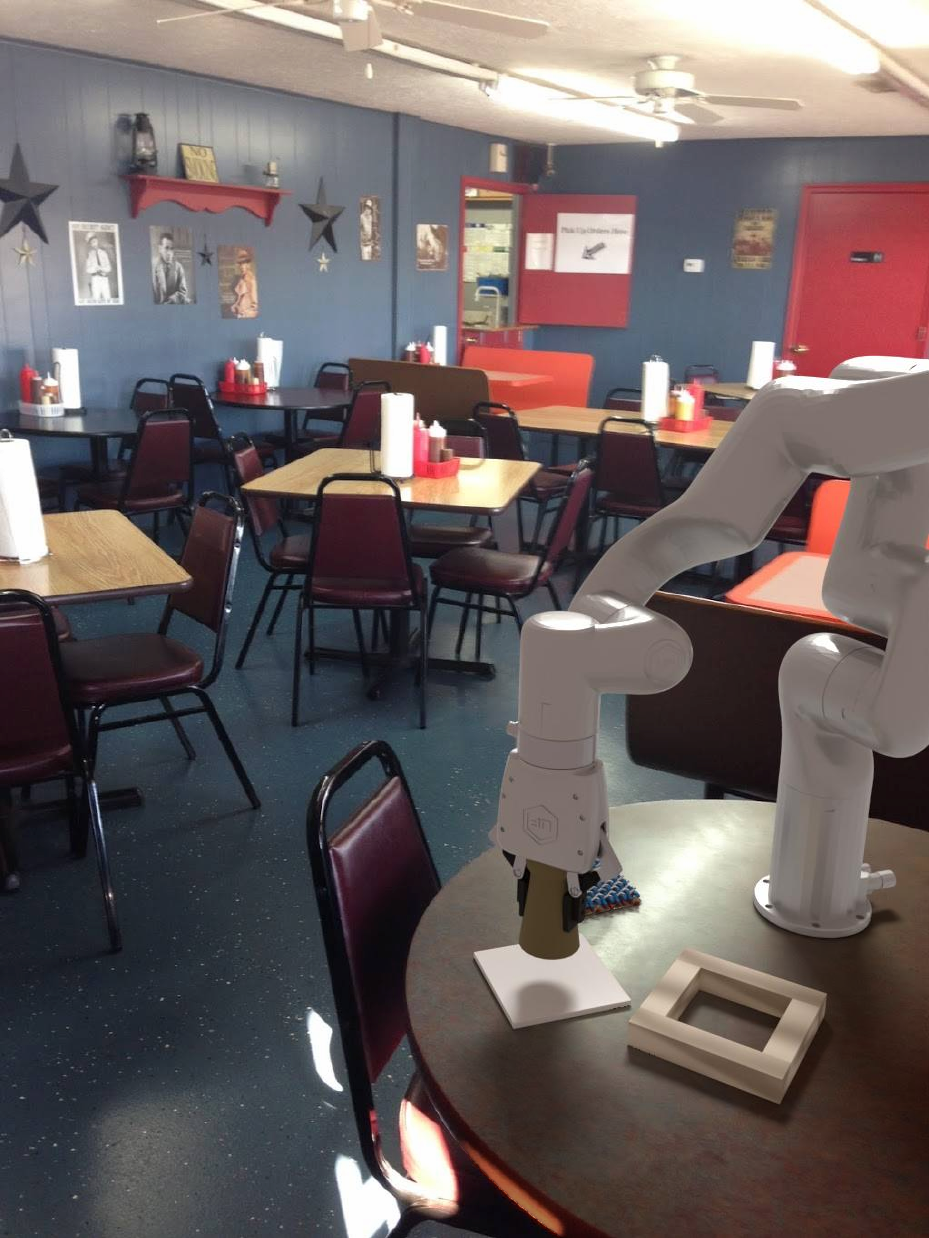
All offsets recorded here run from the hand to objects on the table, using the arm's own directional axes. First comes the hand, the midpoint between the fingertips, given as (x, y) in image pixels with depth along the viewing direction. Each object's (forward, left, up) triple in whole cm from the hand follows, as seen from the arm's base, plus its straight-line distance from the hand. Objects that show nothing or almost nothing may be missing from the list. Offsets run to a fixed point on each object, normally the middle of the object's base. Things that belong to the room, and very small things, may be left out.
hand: (550, 916), depth 106 cm
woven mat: (-10, -15, -8) cm, 20 cm away
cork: (0, 0, -3) cm, 3 cm away
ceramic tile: (0, 0, -7) cm, 7 cm away
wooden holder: (-13, +12, -7) cm, 19 cm away
